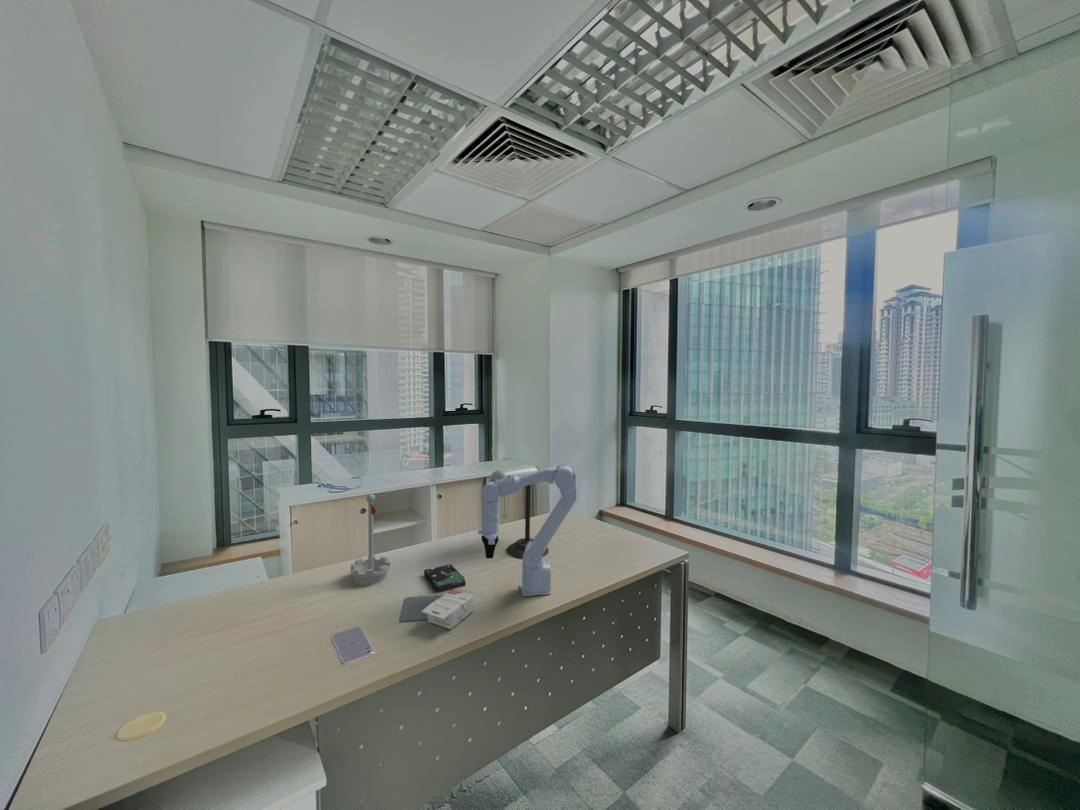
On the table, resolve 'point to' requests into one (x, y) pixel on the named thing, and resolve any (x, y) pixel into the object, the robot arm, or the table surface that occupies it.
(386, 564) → the flag stand
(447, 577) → the disk drive
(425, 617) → the mat
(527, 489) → the lamp
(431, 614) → the ink cartridge box
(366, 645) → the mobile phone
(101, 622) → the table surface
